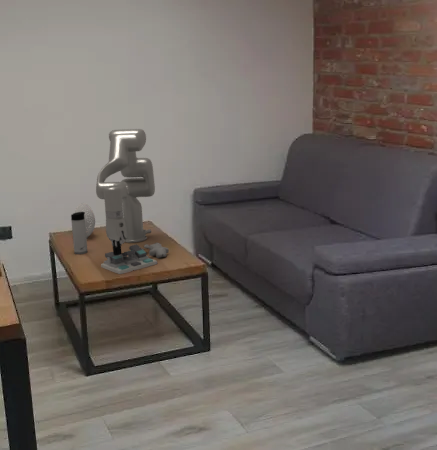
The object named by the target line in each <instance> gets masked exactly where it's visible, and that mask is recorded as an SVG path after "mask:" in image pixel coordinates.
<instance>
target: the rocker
mask: <svg viewBox="0 0 437 450" xmlns="http://www.w3.org/2000/svg"><path fill="white" fill-rule="evenodd" d="M104 257H105V258H106V259H107V257H109V258H111V261H113V262H114V263H116V262H120V261H123V257H121V256H119V255H114V254H113V251H110V252H105V253H104Z"/></svg>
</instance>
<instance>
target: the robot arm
mask: <svg viewBox="0 0 437 450" xmlns="http://www.w3.org/2000/svg"><path fill="white" fill-rule="evenodd" d="M108 139H109V142H110V143H109V152H108V153H109V154H108V162H107V163H106V164H105V165H104V166H102V168H101V169H100V171H99V172H98V174H97V178H96V187H95V193H96V197H97V198H98V199H101V200H104V210H105V233H106V237H107V238H108V240H110V242H111V246H112V252H113V254H114V255H120V254H122V253H123V252H122V246H123V245H124V244H125V243H140V242H144V241H146V240H147V239H148V237H147V234H151V233H152V229H146V228H145V229H144V220H143V206H142V203H141V202H140V200H139V199H138V198H151V197H153V196H154V194H155V192H156V191H155V190H156V186H155V176H154V168H153V167H154V166H153V163H152V160H151V159H150V158H148V157H137V152H141V151H142V150H143V149H144V147H145V145H146V141H147V134H146V132H145V130H143V129H141V128H134V129H133V128H128V129H125V128H124V129H123V128H122V129H113V130H111V131H110V132H109V133H108ZM118 172H120V174H121V176H122V177H124V179H122V180H121V181H106V180H107V179H108V177H110V176H112V175H114V174H116V173H118ZM122 244H123V245H122Z"/></svg>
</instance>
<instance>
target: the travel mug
mask: <svg viewBox="0 0 437 450" xmlns="http://www.w3.org/2000/svg"><path fill="white" fill-rule="evenodd" d="M84 214H85V211H84V212H77V213H75V212H73V213H72V214H71V215H70V218H71V219H70V222H71V231H72V239H73V240H72V242H73V243H72V244H73V251H74V254H75V255H85V254H87V253H88V241H87V240H88V239H87V238H86V232H87V231H86V228H85V218H84Z"/></svg>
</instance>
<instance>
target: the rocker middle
mask: <svg viewBox="0 0 437 450" xmlns="http://www.w3.org/2000/svg"><path fill="white" fill-rule="evenodd" d="M131 254H135V253H134V250H128V251H123V252H122V255H123V257H124V256H128V255H131Z"/></svg>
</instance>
